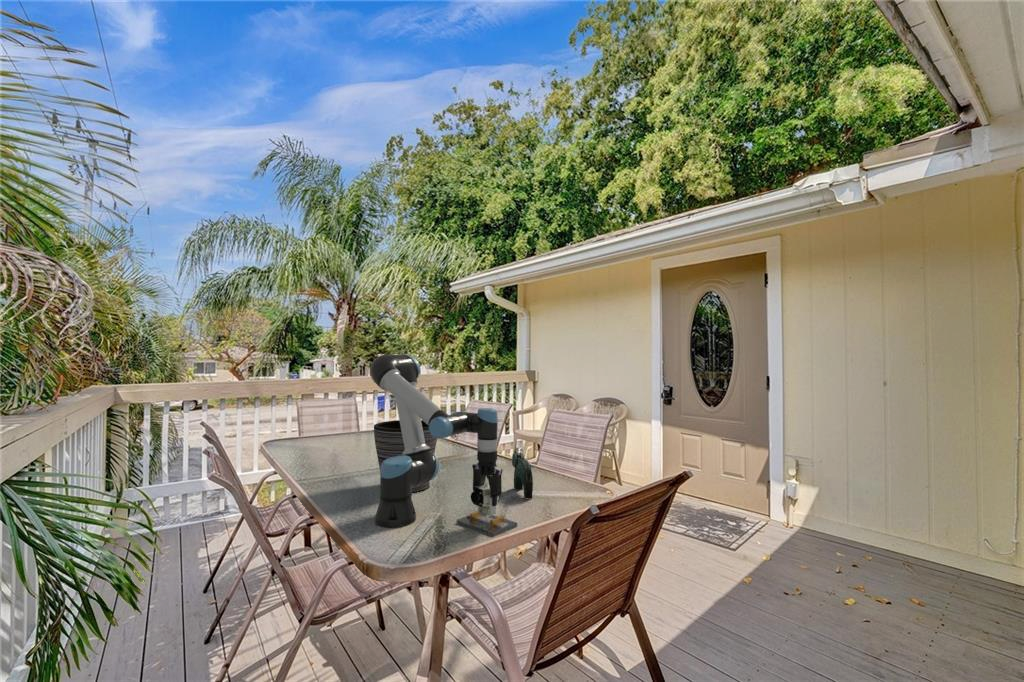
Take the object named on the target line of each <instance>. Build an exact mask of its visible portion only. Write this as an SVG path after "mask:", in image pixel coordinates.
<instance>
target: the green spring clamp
mask: <svg viewBox="0 0 1024 682" xmlns="http://www.w3.org/2000/svg"><path fill="white" fill-rule="evenodd" d="M511 456H512V457H511V458H512V459H511V464H512V467H513V468H514V473H513V489H514V488H515V489H522V490H523V498H524V497H525V498H532V499H533V490H534V489H533V488H534V479H533V477H534V476H533V471H532V464H530V462H529V460H528V459H526V458H525V455H524V452H523V448H520V449H519V452H517V450H515V449H514V453H513V454H512V455H511ZM515 489H514V490H515ZM525 498H524V499H525Z"/></svg>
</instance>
